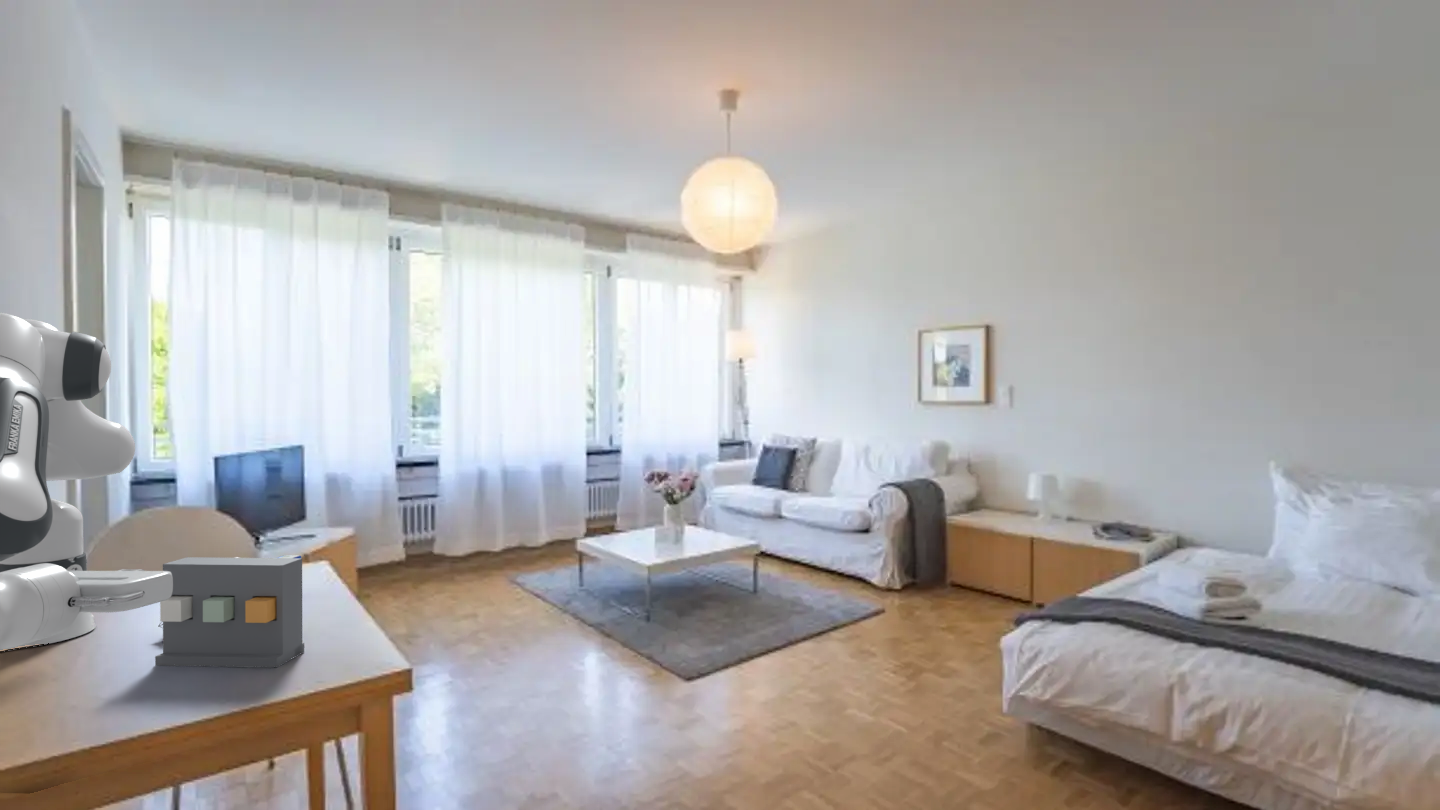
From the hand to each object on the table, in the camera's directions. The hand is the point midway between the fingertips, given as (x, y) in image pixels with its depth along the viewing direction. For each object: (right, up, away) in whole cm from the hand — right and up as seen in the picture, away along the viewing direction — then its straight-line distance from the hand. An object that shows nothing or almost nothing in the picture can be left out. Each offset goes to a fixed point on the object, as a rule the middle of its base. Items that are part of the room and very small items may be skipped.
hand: (135, 574), depth 97 cm
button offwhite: (-6, -11, +16) cm, 20 cm away
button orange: (+8, -11, +15) cm, 20 cm away
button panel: (+1, -18, +19) cm, 26 cm away
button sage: (+1, -11, +16) cm, 19 cm away
